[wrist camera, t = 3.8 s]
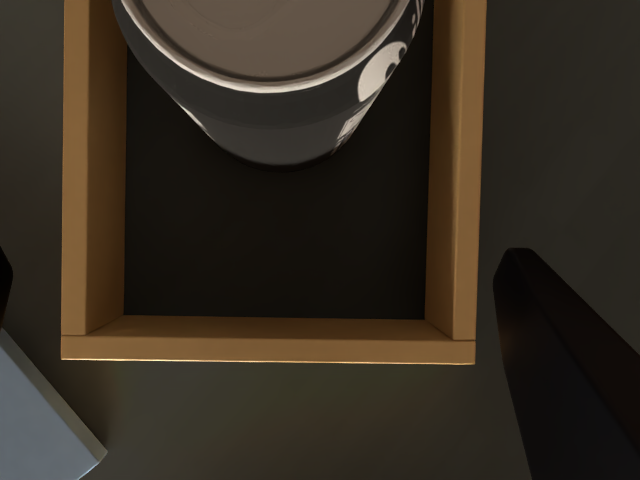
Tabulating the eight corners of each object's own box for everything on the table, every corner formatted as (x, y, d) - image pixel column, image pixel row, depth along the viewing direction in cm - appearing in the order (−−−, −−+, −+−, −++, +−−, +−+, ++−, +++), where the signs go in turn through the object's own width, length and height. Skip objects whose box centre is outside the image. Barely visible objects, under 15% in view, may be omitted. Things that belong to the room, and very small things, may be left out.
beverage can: (168, 51, 21) (8, -168, 9) (318, -21, 22) (349, -327, 10) (243, 202, 22) (182, 176, 10) (391, 129, 22) (509, 16, 10)
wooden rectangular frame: (442, 339, 22) (475, 364, 18) (103, 334, 22) (60, 360, 18) (455, -75, 22) (492, -142, 18) (108, -93, 21) (65, -167, 17)
